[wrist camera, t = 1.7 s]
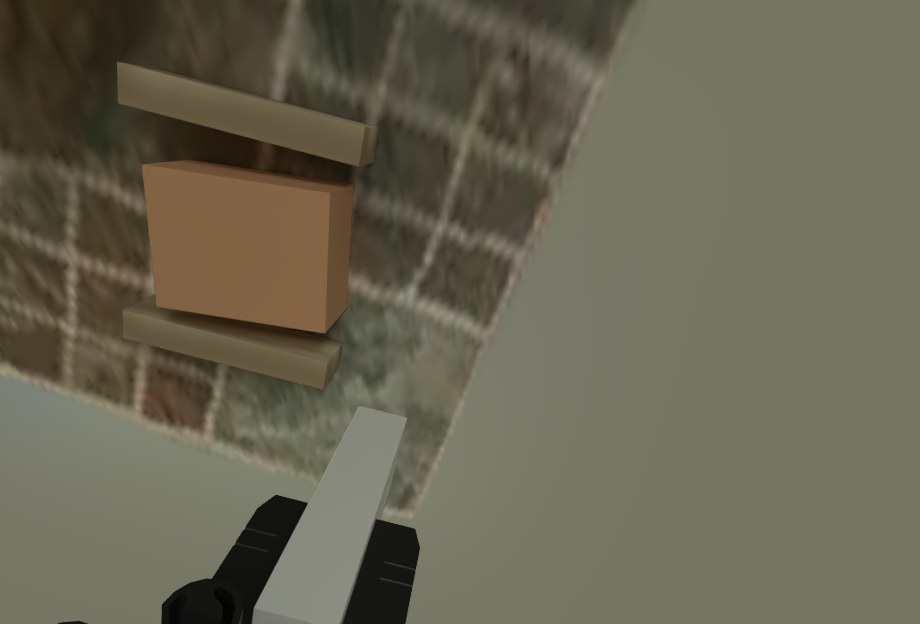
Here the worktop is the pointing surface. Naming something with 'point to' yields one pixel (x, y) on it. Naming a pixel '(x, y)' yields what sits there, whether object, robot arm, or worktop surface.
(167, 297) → the block
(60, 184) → the worktop surface
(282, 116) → the chute
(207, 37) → the worktop surface
